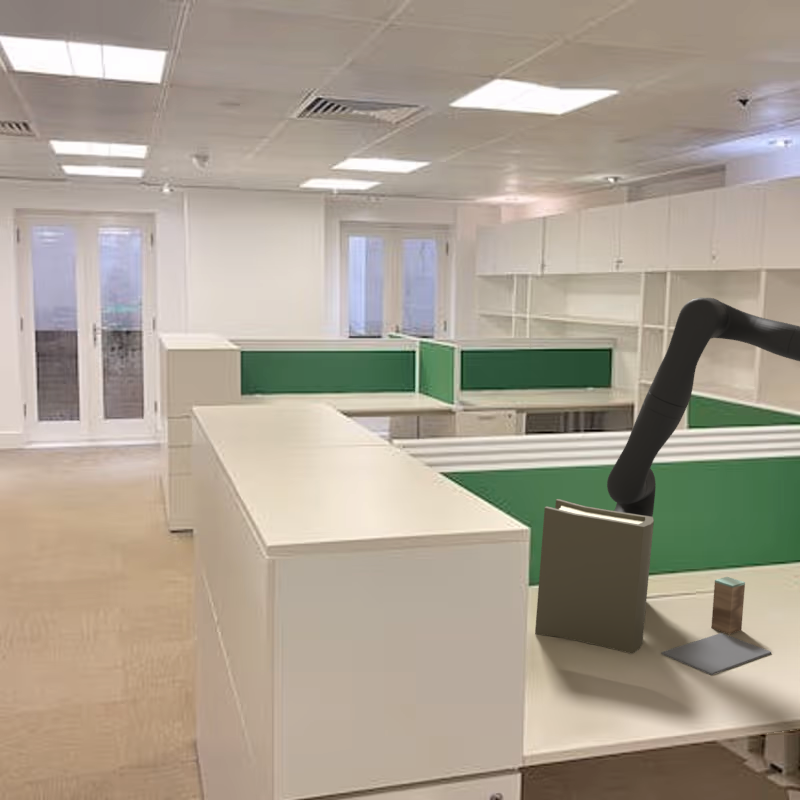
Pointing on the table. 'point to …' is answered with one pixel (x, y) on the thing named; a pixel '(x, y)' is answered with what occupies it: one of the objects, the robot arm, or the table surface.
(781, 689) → the table surface
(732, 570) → the table surface
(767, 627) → the table surface
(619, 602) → the book
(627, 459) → the robot arm
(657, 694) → the table surface
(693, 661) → the rubber mat
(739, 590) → the walnut block
